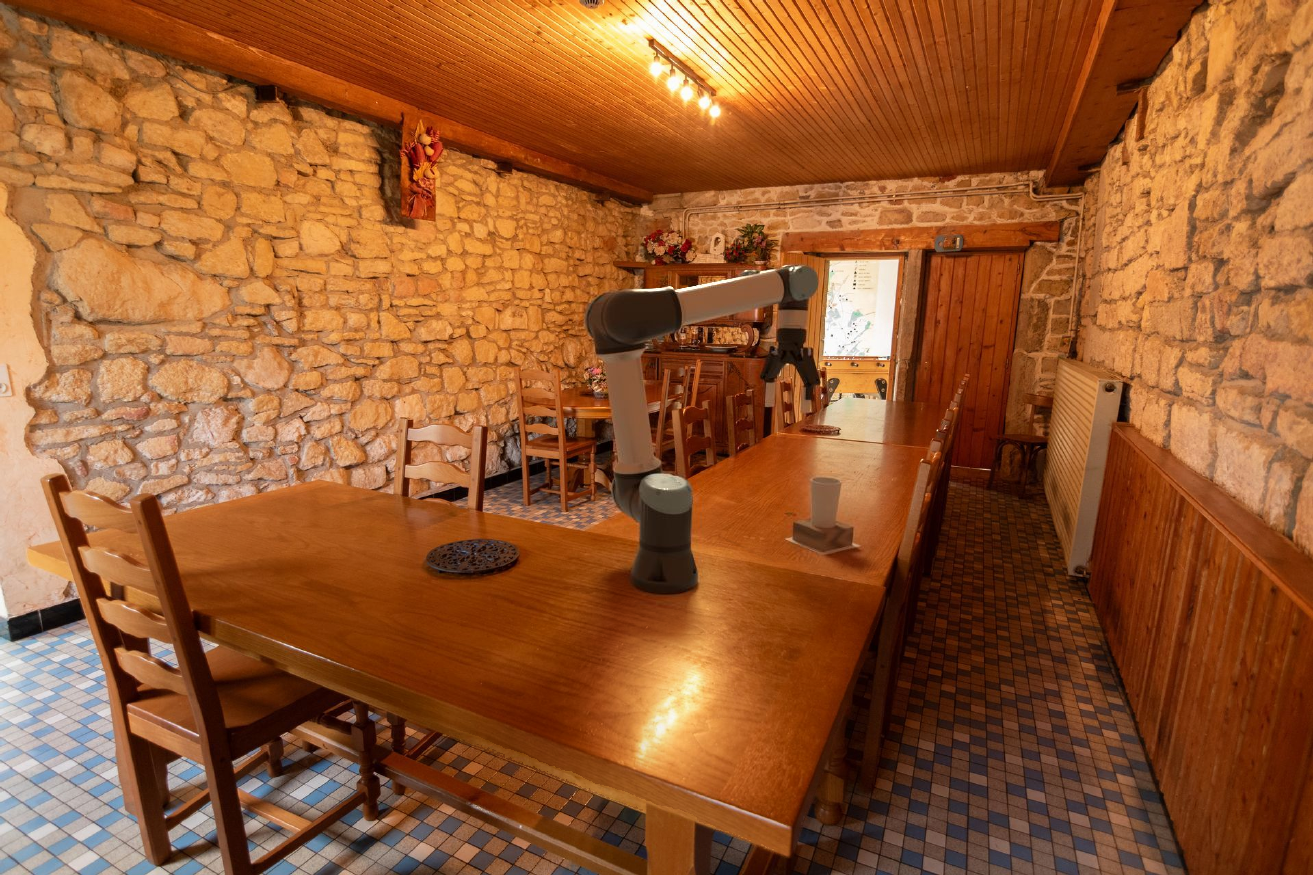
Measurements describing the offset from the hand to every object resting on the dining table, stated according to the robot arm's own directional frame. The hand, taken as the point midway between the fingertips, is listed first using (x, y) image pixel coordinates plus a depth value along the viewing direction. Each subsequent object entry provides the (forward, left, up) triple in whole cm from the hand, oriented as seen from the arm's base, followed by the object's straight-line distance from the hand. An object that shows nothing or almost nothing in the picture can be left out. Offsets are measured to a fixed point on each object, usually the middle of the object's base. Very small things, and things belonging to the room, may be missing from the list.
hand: (786, 409), depth 162 cm
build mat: (+8, -8, -36) cm, 37 cm away
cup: (+8, -8, -30) cm, 32 cm away
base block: (+8, -8, -35) cm, 37 cm away
